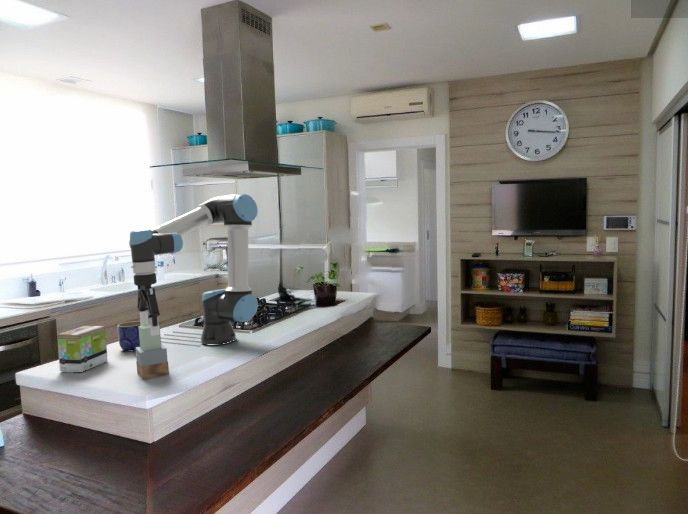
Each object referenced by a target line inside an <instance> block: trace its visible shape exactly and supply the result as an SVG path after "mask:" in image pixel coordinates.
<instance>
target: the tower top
mask: <svg viewBox="0 0 688 514" xmlns="http://www.w3.org/2000/svg"><path fill="white" fill-rule="evenodd" d="M161 347H162V348H159V349H153V350H148V351H143V350H142V349H141V348H140V347H135V348H136V350H135V356H136V357H135V358H136V359H135V360H136V361H137V362H138V363H139V365H140V366H141V367H143V366H148V365H153V364H159V363H164V362H168V363H169V361H168V351H167V349H168V348H167V347H166V346H165V345H164V343H163V344H162V342H161Z"/></svg>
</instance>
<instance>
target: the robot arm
mask: <svg viewBox="0 0 688 514" xmlns="http://www.w3.org/2000/svg"><path fill="white" fill-rule="evenodd" d="M258 212H259V211H258V205H257V202H256V200H255V199H254V198H253V197H252V196H250V195H249V194H245V193H235V194H226V195H225V194H223V195H218V196H215V197H212V198H210V199H208V200H206V201H204V202H202V203H200V204H198V205H197V206H196V207H195V208H194V209H193V210H191V211H189V212H187V213H184V214H183V215H180V216H178V217H176V218H174V219H171V220H168V221H167V222H165V223H163V224H160V225H158V226H157V227H154V228H152V229H136V230H131V231H130V233H129V241H128V243H129V248H130V254H131V261H132V263H131V264H132V265H131V266H130V268H131V269H132V273H133V274H134V275H133V285H135V286H137V306H136V308H137V309H138V311H139V321H140V323H141V326H142V325H148V324H150V330H151V336H155V335H161V333H160V334H159V326H160V325H159V316H160V315H161V314H160V310H159V306H158V299H157V296H156V288H154V287H152V285H155V284H157V273H156V271H157V269H156V268H157V267H156V259H155V256H158V255H167V254H175V253H180V252H181V250H182V249H183V246H184V241H183V238H182V237H183V236H185V235H187V234H190V233H191V232H192V231H196V230H197V229H199V228H201V227H203V226H206V227H207V226H211V225H212V224H215V223H223V226H224V227H225V228H226V230H227V286H226V287H225V288H219V289H215V290H210V291H209V290H208V291H205V292H203V293H202V294H201V295H202V296H201V303H202V305H201V306H202V316H203V317H202V318H203V327H202V332H201V336H200V342H201V343H202V345H203V344H223V343H227V342H230V341H233V340H235V339H236V340H237V336H236V333H235V330H234V327H233V326H232V322H231V321H234V322H235V321H236V322H238V323H241V322H249V321H250V320H252V319H253V318H254V316H255V315H256V313H257V310H258V305H259V303H258V299H257V298H256V296H255V295H254V294H253V289H252V288H251V287H250V286H249V230H250V229H251V227H252V226H253V223H252V222H253V221H254V220H256V218H257V216H258ZM236 340H235V341H236ZM201 343H200V344H201ZM223 345H224V344H223Z"/></svg>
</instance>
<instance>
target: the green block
mask: <svg viewBox="0 0 688 514" xmlns="http://www.w3.org/2000/svg"><path fill="white" fill-rule="evenodd" d="M138 327H139V338H140V348H141V349H142V350H143V351H148V350H153V349H159V348H162V347H161V343H162V337H161V336H162V335H161V326H160V325H159V334H160V335H155V336H151V330H150V323H149V324H148V325H142V326H138Z"/></svg>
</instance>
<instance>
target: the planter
mask: <svg viewBox="0 0 688 514" xmlns="http://www.w3.org/2000/svg"><path fill="white" fill-rule="evenodd" d="M138 326H141V323H140V320H135V321H134V320H133V321H127V322H126V321H125V322H121V323H119V324H117V325H116V329H117V338H118V344H119V347H120V348H121V350H122V351H126V352H134V351H135V352H136V348H135V347H140V338H139V327H138Z"/></svg>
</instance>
